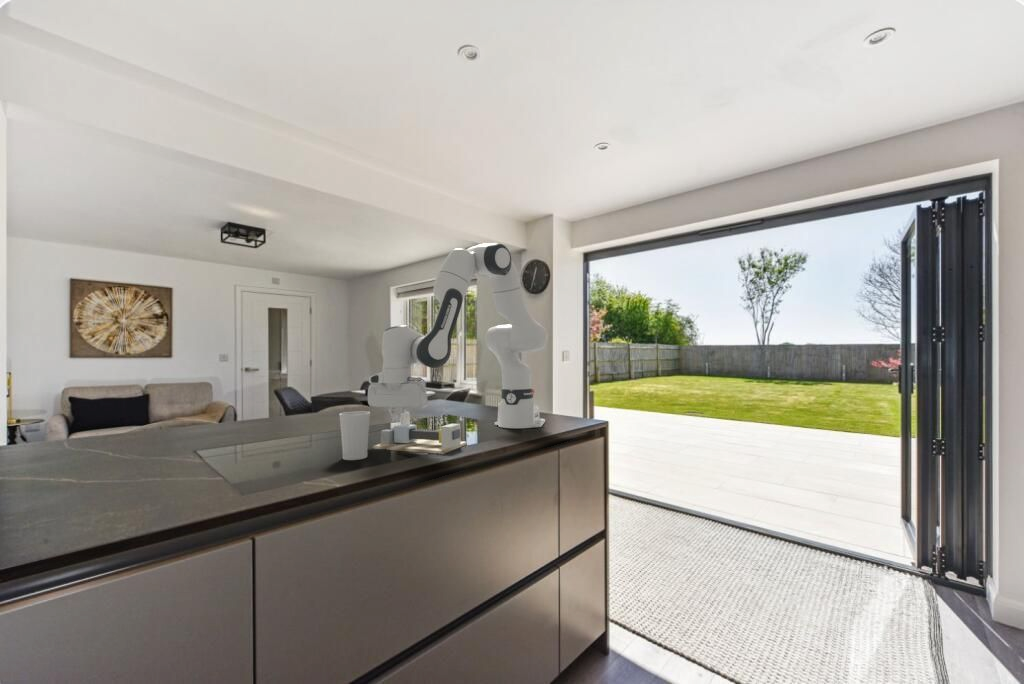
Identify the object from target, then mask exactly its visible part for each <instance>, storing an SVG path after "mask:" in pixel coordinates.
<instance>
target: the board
mask: <svg viewBox="0 0 1024 684" xmlns="http://www.w3.org/2000/svg"><path fill="white" fill-rule="evenodd" d="M467 444H468V441H462V440H461V444H460V445H457V446H455V447H452V448H441V443H439V440H424V439H417V441H414V442H410V443H393V444H390V445H386V444H381V443H378V444H375V445H373V446H372V449H374V450H385V449H386V451H399V452H413V453H414V452H415V453H423V454H425V453H426V454H428V453H429V454H437V453H438V455H444V454H446V453H449V452H452V451H455V450H457V449H460V448H462V447H464V446H466V445H467Z"/></svg>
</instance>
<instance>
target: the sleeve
mask: <svg viewBox="0 0 1024 684" xmlns="http://www.w3.org/2000/svg"><path fill="white" fill-rule="evenodd" d="M417 426H418V425H417V424H411V413H410V411H406V412H404V413H401V422H400V424H399V425H394V426H393V428H394V442H396V443H410V442H414V441H417V439H409V429H417V430H418V427H417Z"/></svg>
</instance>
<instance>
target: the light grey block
mask: <svg viewBox="0 0 1024 684" xmlns="http://www.w3.org/2000/svg"><path fill="white" fill-rule="evenodd" d="M393 443H396V442H394V430H390V429H387V428H386V429H382V430H380V444H386V445H390V444H393Z"/></svg>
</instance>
